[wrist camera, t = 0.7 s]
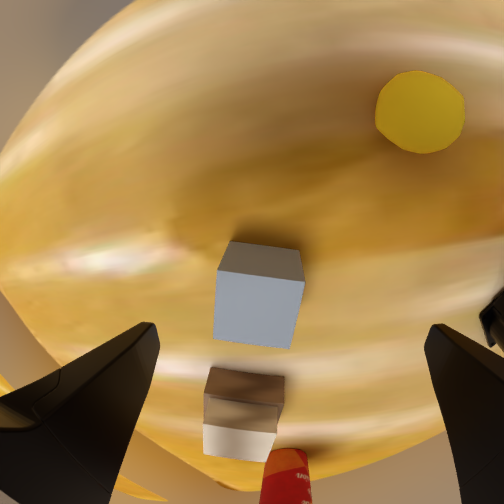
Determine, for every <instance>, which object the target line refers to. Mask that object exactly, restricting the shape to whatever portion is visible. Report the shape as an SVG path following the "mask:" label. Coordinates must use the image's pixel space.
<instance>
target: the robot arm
mask: <svg viewBox="0 0 504 504" xmlns="http://www.w3.org/2000/svg"><path fill="white" fill-rule="evenodd" d="M479 318H480V321H481V324H482V327H483V330H484V334H485V337H486V340H487V343H488V346H489V347H490V348H491V347H493V346H494V345H495V344H496V343H497V344H498V346H499V347H500V348H501V349H502V351H503V352H504V291H503V292H502V293H501V294H500V296H499V297H498V298H497V299H496V300H495V301H494V302H493V303H492V304H490V305H489V306H488V307H487V308H486V309H485V310H484V311H483V312H482V313H481V315H480V317H479ZM159 350H160V341H159V337H158V333H157V329H156V326H155V324H154V323H151V322H141V323H139V324H137V325H136V326H134V327H132V328H130V329H129V330H127V331H125V332H123V333H122V334H120V335H118V336H116V337H114V338H113V339H111V340H109V341H107V342H106V343H104V344H102V345H100V346H99V347H97V348H95V349H93V350H91V351H90V352H88V353H86V354H84V355H83V356H81V357H79V358H77V359H75V360H74V361H72V362H70V363H68V364H67V365H65V366H63V367H61V369H57V370H56V371H54V372H52V373H50V374H48V375H47V376H45V377H43V378H41V379H39V380H37V381H35V382H33V383H31V384H28V385H26V386H24V387H22V388H20V389H17V390H15V391H13V392H10V393H8V394H6V395H3V396H1V397H0V504H109V501H110V498H111V494H112V491H113V488H114V485H115V482H116V479H117V476H118V473H119V470H120V467H121V464H122V462H123V459H124V456H125V453H126V450H127V447H128V445H129V442H130V439H131V436H132V434H133V431H134V428H135V425H136V423H137V420H138V417H139V415H140V412H141V409H142V407H143V404H144V401H145V399H146V396H147V394H148V391H149V388H150V385H151V381H152V377H153V373H154V369H155V365H156V362H157V358H158V354H159ZM424 351H425V355H426V359H427V363H428V367H429V371H430V375H431V380H432V384H433V387H434V391H435V394H436V397H437V400H438V403H439V406H440V410H441V413H442V416H443V420H444V423H445V427H446V430H447V434H448V438H449V442H450V446H451V450H452V454H453V458H454V463H455V468H456V472H457V477H458V483H459V487H460V495H461V502H462V504H504V358H503V357H501V356H499V355H498V354H496V353H494V352H492V351H491V350H489V349H487V348H486V347H484V346H482V345H480V344H479V343H477V342H475V341H473V340H472V339H470V338H468V337H466V336H464V335H463V334H461V333H459V332H457V331H456V330H454V329H452V328H450V327H448V326H447V325H445V324H434V325H432V326H431V328H430V331H429V333H428V336H427V339H426V341H425V345H424Z"/></svg>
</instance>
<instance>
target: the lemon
mask: <svg viewBox="0 0 504 504" xmlns="http://www.w3.org/2000/svg"><path fill="white" fill-rule="evenodd" d="M464 123H465V111H464V98H463V96H462V95H461V94H460V93H459V92H458V91H457V90H456V89H455V88H454V87H453V86H452V85H451V84H450V83H448V82H447V81H446V80H444V79H443V78H442V77H439V76H436V75H433V74H430V73H427V72H423V71H418V70H414V71H409V72H404V73H399V74H397V75H396V76H395V77H394V78H393V79H391V80H390V81H389V82H388V83H387V84H386V85H385V86H384V87H383V89H382V90H381V91H380V93H379V97H378V100H377V104H376V108H375V125H376V128H377V129H378V130H379V131H380V132H381V133H382V134H383V135H384V136H385V137H386V138H387V139H388V140H390V141H391V142H393V143H394V144H396V145H397V146H399V147H400V148H401V149H403V150H407V151H411V152H415V153H418V154H427V153H432V152H436V151H439V150H443V149H446V148H447V147H448V146H449V145H450V144H451V143H453V142H454V141H455V140H456V139H457V138H458V137H459V135H460V133H461V131H462V128H463V125H464Z"/></svg>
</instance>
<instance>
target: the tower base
mask: <svg viewBox="0 0 504 504" xmlns="http://www.w3.org/2000/svg"><path fill="white" fill-rule="evenodd" d="M283 406H284V377H280V376H270V375H261V374H253V373H246V372H238V371H231V370H225V369H219V368H213V367H211V368H210V372H209V376H208V379H207V383H206V387H205V390H204V421H203V449H204V454H207V455H212V456H218V457H225V458H232V459H239V460H248V461H257V462H266V461H267V458H268V456H269V453H270V451H271V448H272V445H273V443H274V440H275V437H276V435H277V424H278V421H279V418H280V415H281V412H282V409H283Z"/></svg>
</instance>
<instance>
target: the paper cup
mask: <svg viewBox="0 0 504 504" xmlns="http://www.w3.org/2000/svg"><path fill="white" fill-rule="evenodd" d="M259 504H312V496H311V487H310V477H309V469H308V461H307V456H306V453H305V452H304V451H302V450H298V449H292V448H285V449H278V450H274V451H272V452H270V453H269V456H268V458H267V461H266V462H265V468H264V474H263V481H262V488H261V495H260V502H259Z"/></svg>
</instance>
